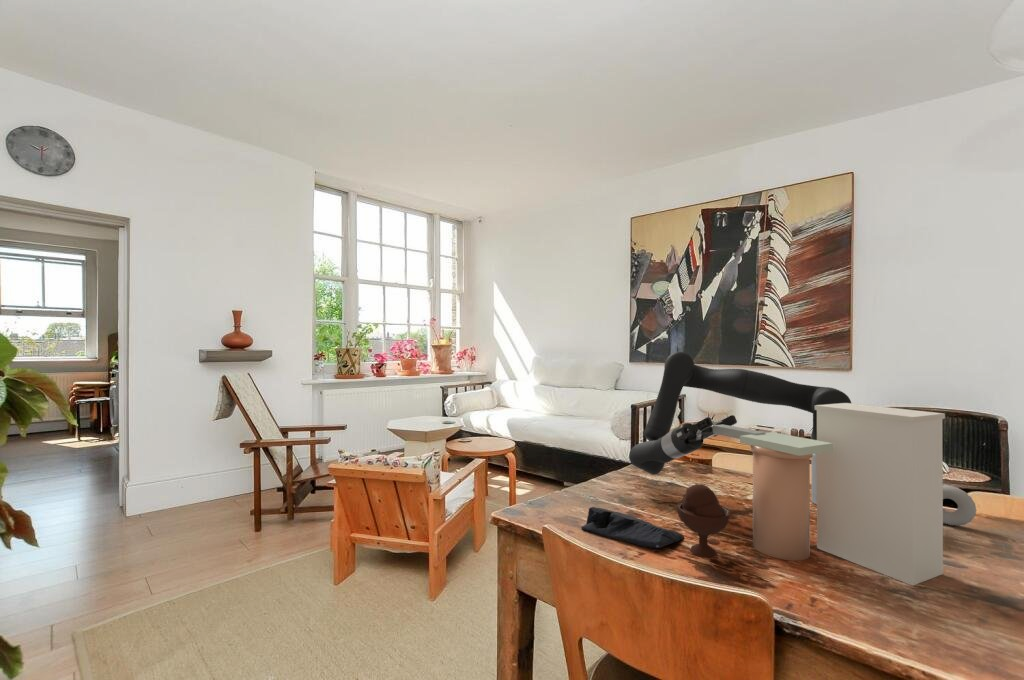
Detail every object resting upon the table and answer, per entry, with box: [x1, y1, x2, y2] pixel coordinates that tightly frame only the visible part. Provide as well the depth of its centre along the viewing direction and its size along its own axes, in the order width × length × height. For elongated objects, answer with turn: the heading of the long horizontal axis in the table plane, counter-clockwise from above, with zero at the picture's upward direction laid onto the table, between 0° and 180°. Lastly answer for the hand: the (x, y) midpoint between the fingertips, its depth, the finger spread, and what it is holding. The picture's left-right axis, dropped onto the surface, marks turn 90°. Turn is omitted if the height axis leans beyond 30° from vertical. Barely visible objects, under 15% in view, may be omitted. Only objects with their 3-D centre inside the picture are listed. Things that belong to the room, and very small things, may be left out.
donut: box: [943, 484, 977, 527], centre depth 120 cm, size 10×4×10 cm, turn 40°
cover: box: [712, 424, 833, 456], centre depth 109 cm, size 11×25×2 cm, turn 25°
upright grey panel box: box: [815, 402, 946, 586], centre depth 100 cm, size 12×19×32 cm, turn 25°
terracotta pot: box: [749, 445, 812, 561], centre depth 105 cm, size 12×12×23 cm
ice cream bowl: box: [676, 483, 731, 559], centre depth 103 cm, size 11×11×15 cm
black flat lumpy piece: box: [580, 506, 685, 549], centre depth 114 cm, size 15×22×5 cm
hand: (722, 419), depth 119 cm, fingers open, 8 cm apart
